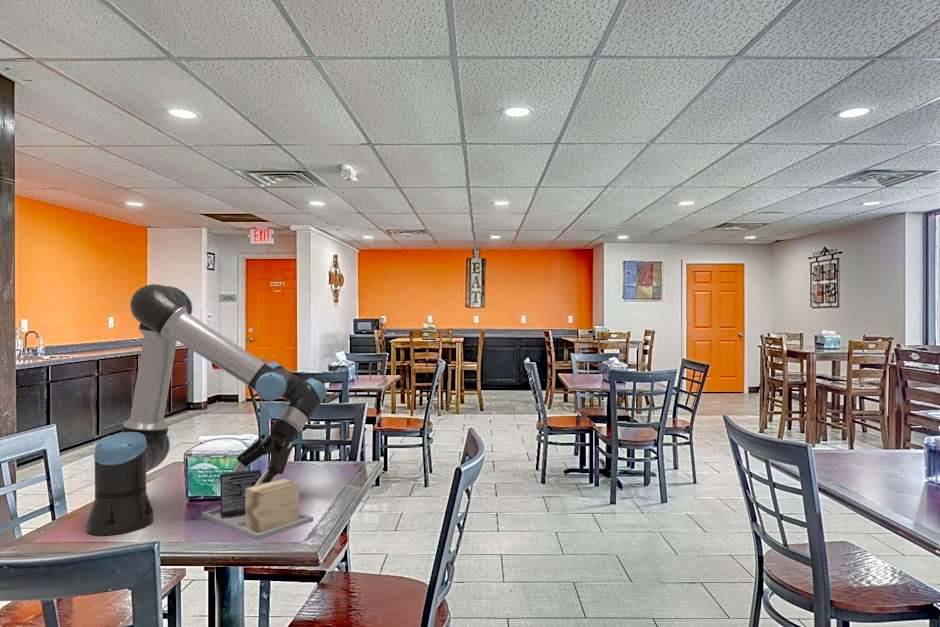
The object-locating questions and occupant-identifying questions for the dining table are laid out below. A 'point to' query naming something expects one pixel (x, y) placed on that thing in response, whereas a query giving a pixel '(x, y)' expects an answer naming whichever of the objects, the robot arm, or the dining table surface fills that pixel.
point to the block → (271, 505)
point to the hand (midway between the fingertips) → (240, 489)
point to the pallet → (238, 523)
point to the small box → (236, 490)
